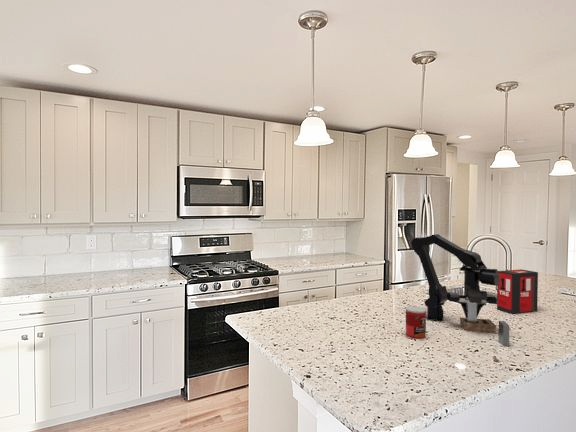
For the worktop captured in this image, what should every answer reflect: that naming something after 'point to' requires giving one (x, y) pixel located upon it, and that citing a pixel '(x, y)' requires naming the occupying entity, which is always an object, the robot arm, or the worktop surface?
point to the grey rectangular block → (503, 333)
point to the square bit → (471, 312)
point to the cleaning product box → (517, 291)
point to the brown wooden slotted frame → (478, 325)
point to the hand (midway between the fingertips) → (471, 317)
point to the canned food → (415, 322)
